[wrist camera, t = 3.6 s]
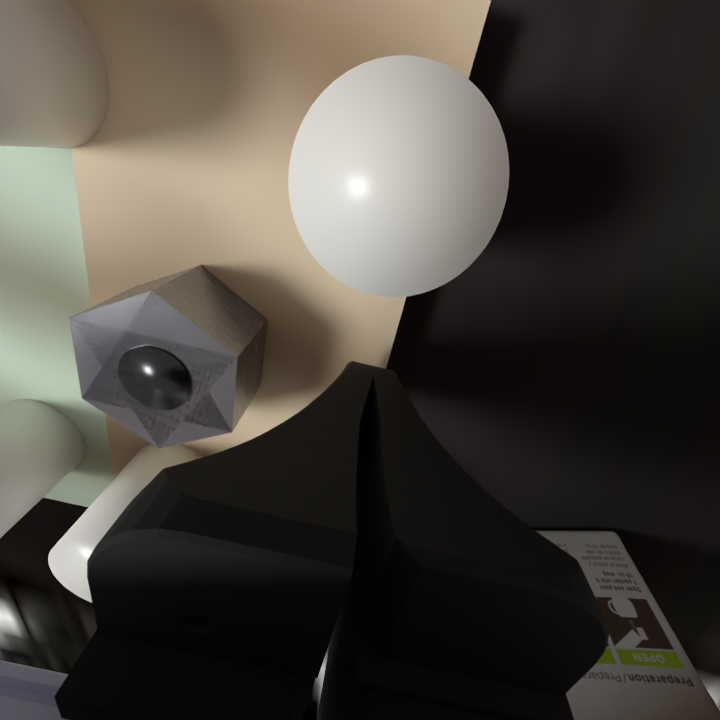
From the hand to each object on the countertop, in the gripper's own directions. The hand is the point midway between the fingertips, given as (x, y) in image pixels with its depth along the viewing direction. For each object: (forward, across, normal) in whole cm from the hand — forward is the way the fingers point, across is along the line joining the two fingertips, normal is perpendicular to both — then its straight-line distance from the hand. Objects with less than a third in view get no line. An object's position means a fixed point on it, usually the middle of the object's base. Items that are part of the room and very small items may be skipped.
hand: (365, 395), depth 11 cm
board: (+2, +6, 0) cm, 7 cm away
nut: (+1, +5, 0) cm, 5 cm away
